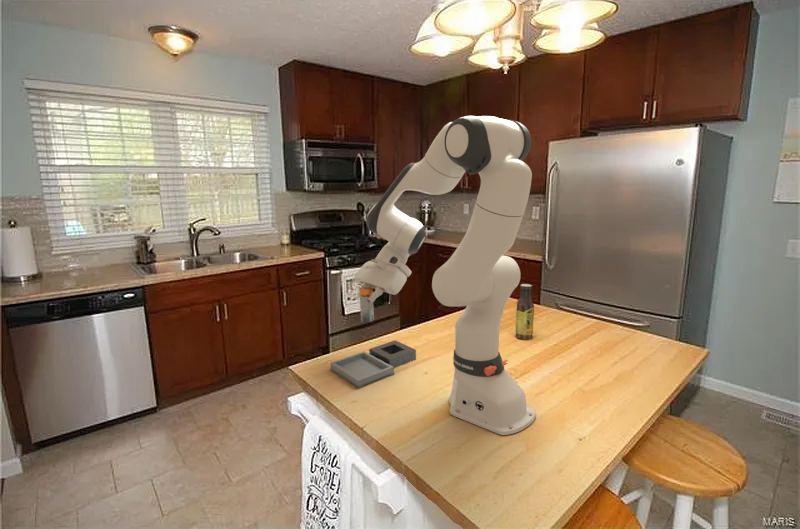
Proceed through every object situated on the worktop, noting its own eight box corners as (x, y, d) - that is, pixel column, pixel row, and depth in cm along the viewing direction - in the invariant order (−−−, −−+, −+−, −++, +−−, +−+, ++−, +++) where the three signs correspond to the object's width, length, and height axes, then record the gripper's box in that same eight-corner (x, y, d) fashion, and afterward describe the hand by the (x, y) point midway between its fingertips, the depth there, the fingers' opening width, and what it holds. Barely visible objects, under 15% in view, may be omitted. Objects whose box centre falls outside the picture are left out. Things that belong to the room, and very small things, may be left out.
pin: (376, 320, 125) (375, 288, 123) (365, 323, 123) (364, 291, 121) (369, 317, 128) (367, 286, 126) (358, 319, 126) (356, 288, 124)
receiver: (416, 359, 135) (415, 349, 134) (389, 369, 128) (389, 359, 127) (395, 349, 143) (395, 340, 142) (369, 358, 136) (369, 348, 136)
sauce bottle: (529, 341, 147) (531, 288, 143) (512, 338, 151) (514, 286, 146) (535, 335, 152) (537, 284, 148) (519, 332, 156) (520, 282, 152)
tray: (394, 374, 125) (393, 367, 124) (358, 388, 117) (358, 380, 116) (364, 358, 137) (364, 351, 136) (330, 369, 129) (330, 362, 128)
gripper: (364, 253, 134) (340, 287, 130) (403, 261, 118) (377, 300, 114) (376, 264, 138) (353, 297, 134) (415, 273, 122) (390, 311, 118)
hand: (364, 299), depth 124 cm, fingers closed on pin, 4 cm apart
